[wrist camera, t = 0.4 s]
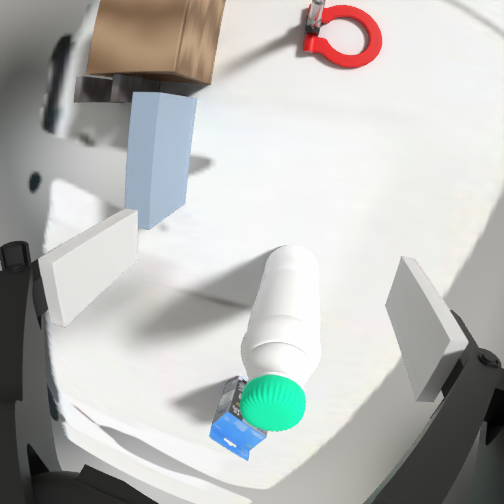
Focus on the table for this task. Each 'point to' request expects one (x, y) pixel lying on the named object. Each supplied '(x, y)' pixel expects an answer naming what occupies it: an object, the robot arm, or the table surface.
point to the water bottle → (282, 340)
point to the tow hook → (321, 44)
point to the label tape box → (234, 422)
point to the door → (158, 155)
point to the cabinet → (150, 47)
